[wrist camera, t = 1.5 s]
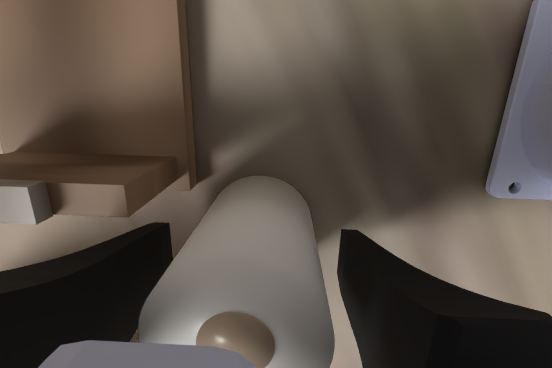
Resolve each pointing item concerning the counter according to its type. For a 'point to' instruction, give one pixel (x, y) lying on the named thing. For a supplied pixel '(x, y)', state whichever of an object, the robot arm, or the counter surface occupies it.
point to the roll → (247, 281)
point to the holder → (93, 107)
